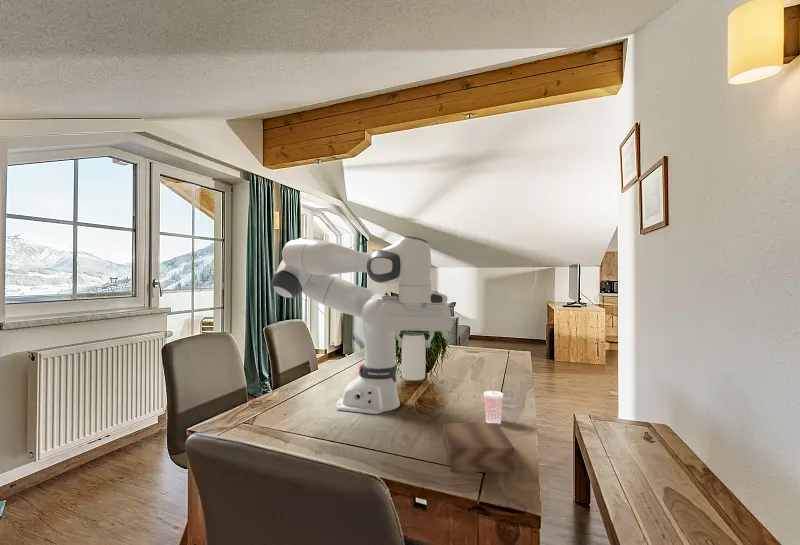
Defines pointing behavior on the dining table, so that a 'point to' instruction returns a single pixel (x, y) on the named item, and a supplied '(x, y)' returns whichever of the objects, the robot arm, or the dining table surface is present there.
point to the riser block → (477, 447)
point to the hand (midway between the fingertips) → (414, 347)
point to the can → (413, 356)
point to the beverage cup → (493, 405)
